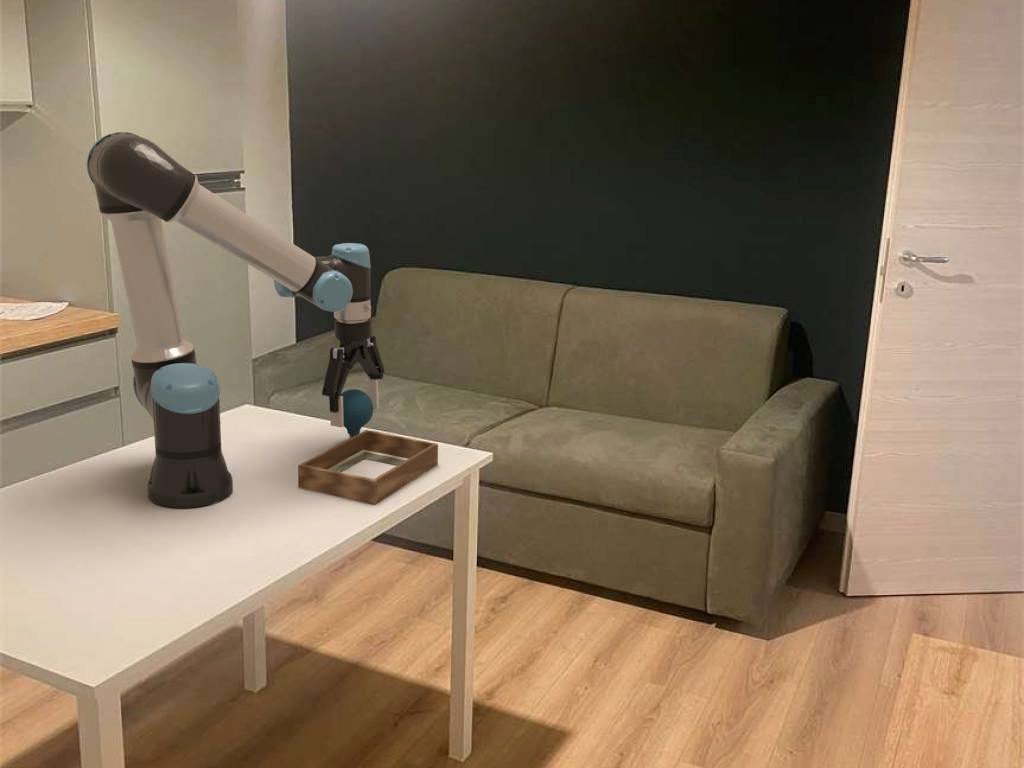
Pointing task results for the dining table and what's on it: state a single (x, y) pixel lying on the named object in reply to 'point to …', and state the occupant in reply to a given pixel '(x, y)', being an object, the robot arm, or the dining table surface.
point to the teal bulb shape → (356, 410)
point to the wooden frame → (376, 446)
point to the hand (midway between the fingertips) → (355, 417)
